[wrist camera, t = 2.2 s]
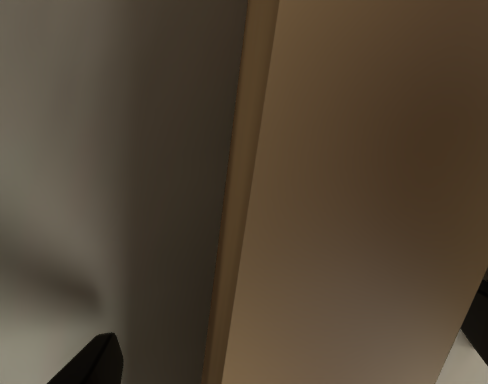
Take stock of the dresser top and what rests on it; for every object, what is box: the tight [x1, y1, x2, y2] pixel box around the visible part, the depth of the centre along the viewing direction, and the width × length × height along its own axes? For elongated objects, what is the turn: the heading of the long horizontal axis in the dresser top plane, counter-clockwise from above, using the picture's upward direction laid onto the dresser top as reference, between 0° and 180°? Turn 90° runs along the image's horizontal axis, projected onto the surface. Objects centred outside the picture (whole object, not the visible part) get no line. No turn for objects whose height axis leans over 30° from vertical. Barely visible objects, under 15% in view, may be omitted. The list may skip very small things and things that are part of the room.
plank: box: [201, 0, 488, 384], centre depth 7 cm, size 4×22×4 cm, turn 172°
